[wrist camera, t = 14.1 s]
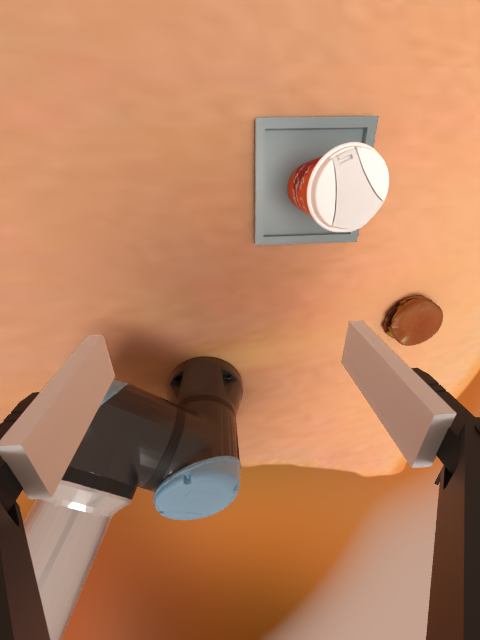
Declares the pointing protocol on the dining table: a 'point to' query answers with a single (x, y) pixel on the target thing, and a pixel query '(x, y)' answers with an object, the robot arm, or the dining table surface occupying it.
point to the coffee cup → (341, 187)
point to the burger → (413, 320)
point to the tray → (283, 159)
